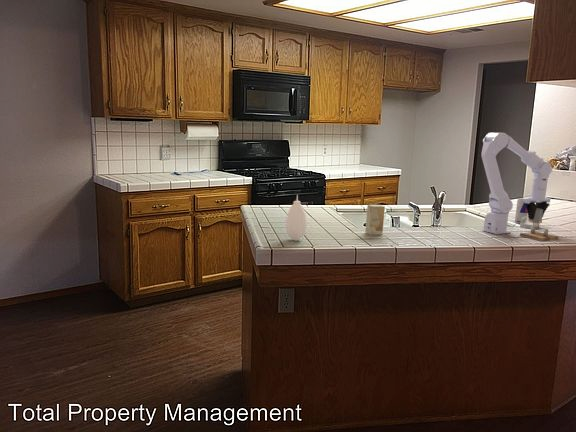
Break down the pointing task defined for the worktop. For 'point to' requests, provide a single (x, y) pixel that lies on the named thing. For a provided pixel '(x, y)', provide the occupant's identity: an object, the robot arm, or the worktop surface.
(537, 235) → the pin block
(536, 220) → the sleeve
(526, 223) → the feeder chute
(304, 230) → the sauce bottle
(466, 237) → the worktop surface
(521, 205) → the energy drink
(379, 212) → the skincare box
